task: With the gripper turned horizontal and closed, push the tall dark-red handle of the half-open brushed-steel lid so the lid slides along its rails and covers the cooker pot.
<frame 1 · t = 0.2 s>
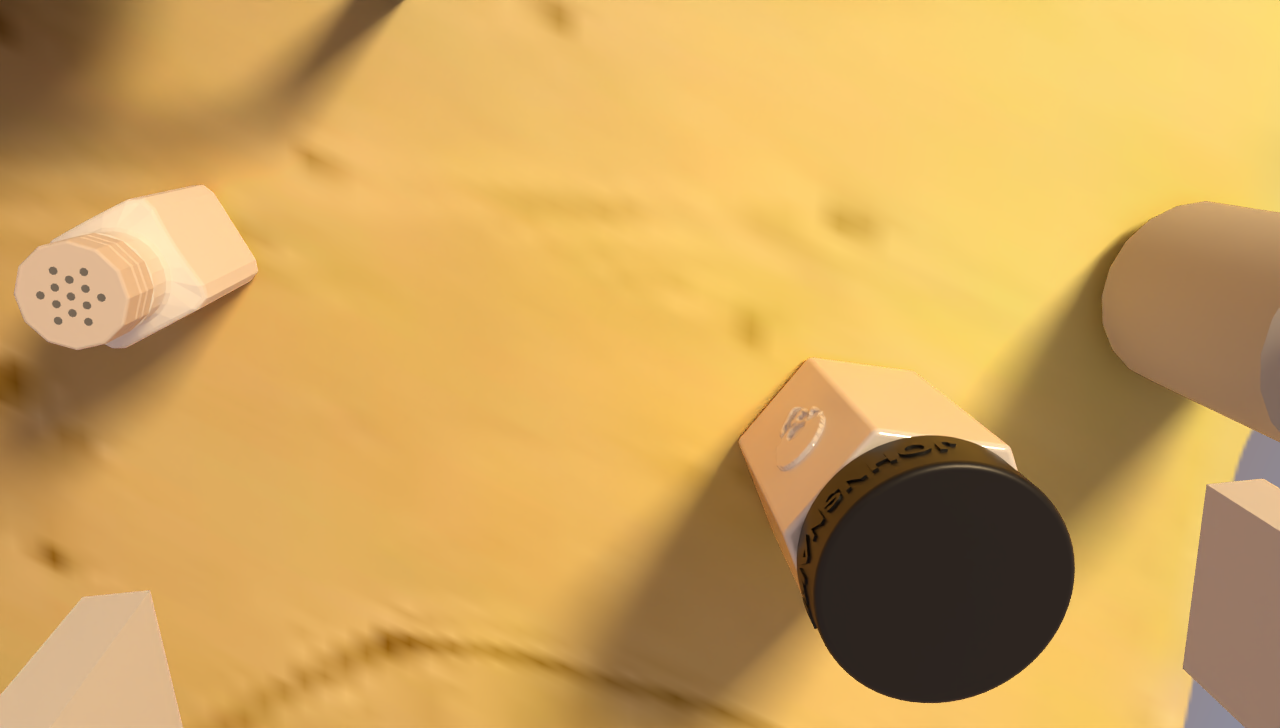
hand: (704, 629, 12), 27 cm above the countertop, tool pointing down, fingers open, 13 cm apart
can: (1175, 290, 40), on the countertop
jar: (840, 450, 41), on the countertop
salt shaker: (196, 248, 37), on the countertop
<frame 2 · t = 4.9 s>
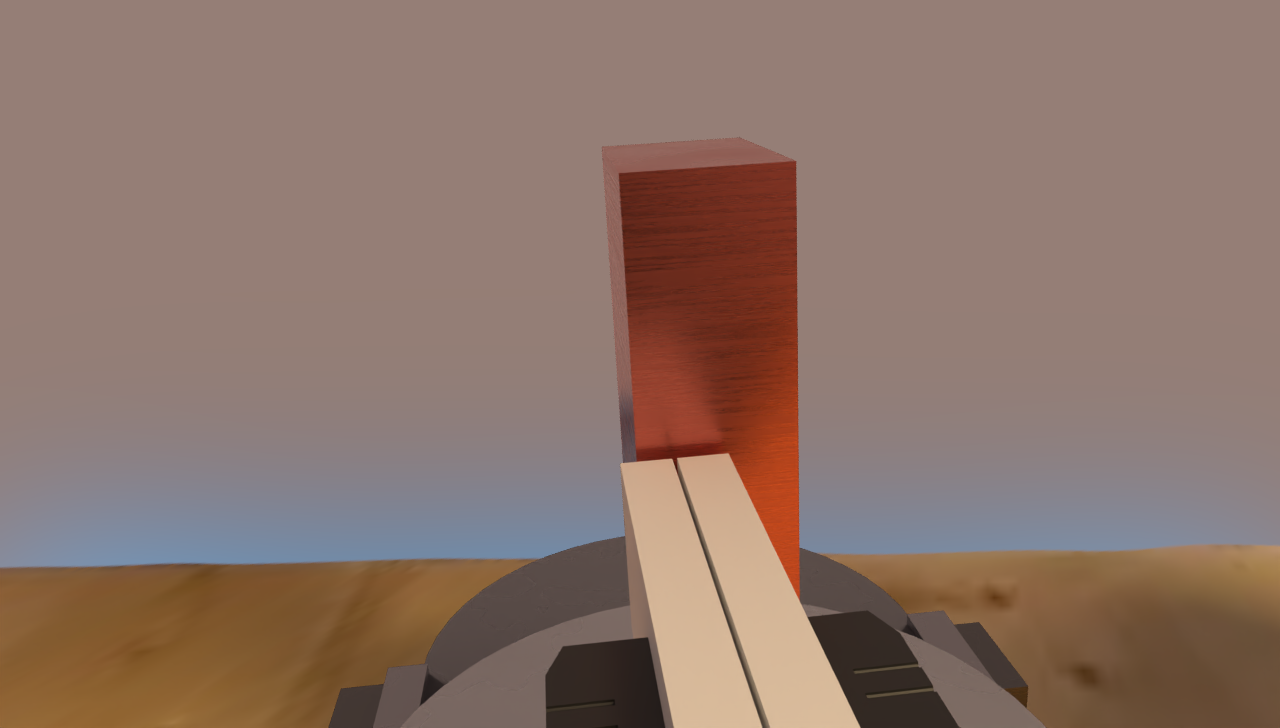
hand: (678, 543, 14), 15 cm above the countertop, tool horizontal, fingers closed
lid: (702, 528, 17), point 14 cm above the countertop, slide at 6.9 cm, touching gripper
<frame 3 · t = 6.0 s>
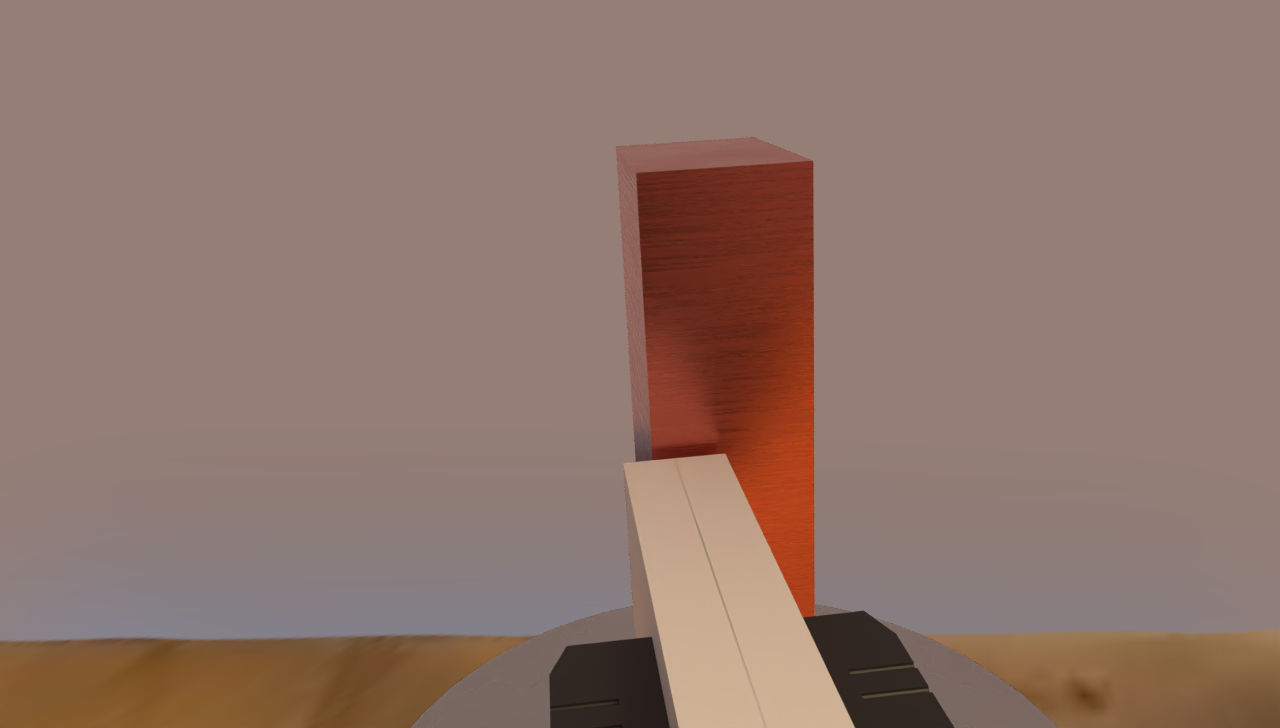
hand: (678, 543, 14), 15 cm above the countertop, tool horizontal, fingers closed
lid: (716, 528, 17), point 14 cm above the countertop, slide at 0.5 cm, touching gripper
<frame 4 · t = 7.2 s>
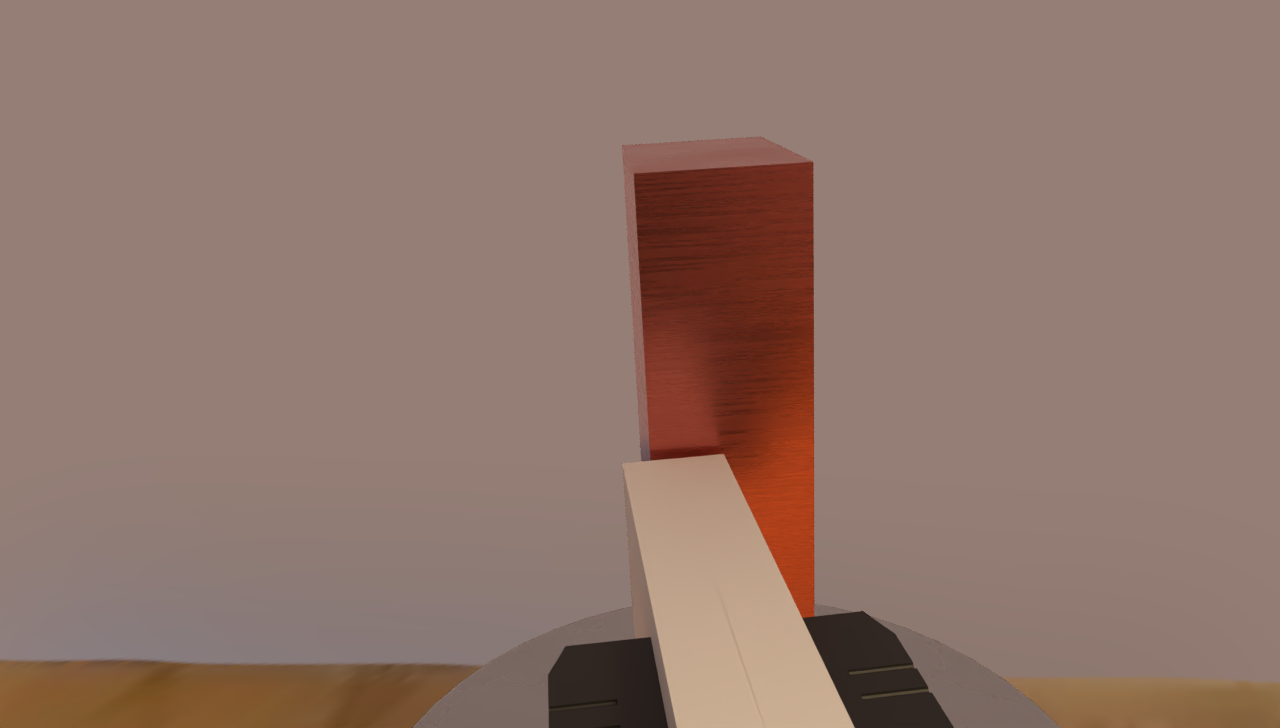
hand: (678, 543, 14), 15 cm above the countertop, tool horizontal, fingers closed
lid: (719, 529, 17), point 14 cm above the countertop, slide at -2.0 cm, touching gripper
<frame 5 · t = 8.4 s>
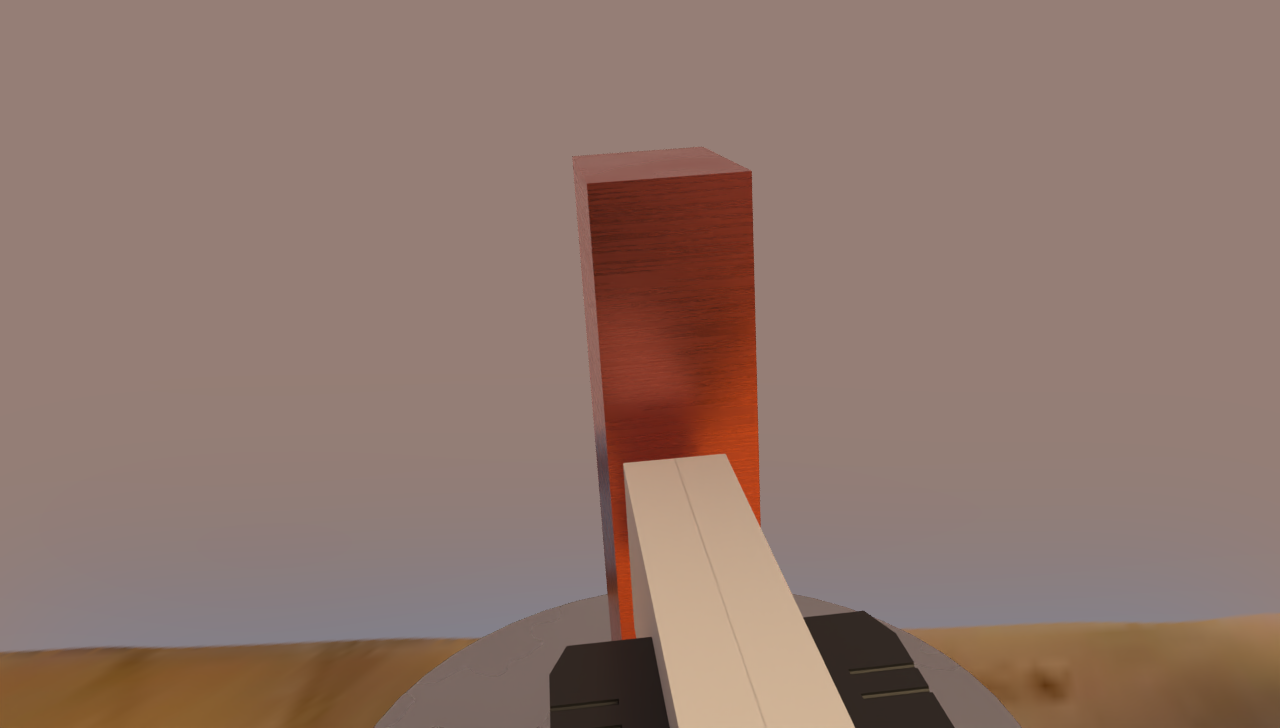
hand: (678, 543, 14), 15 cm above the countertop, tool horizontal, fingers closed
lid: (671, 516, 18), point 14 cm above the countertop, slide at 0.0 cm
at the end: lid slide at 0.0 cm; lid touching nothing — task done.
